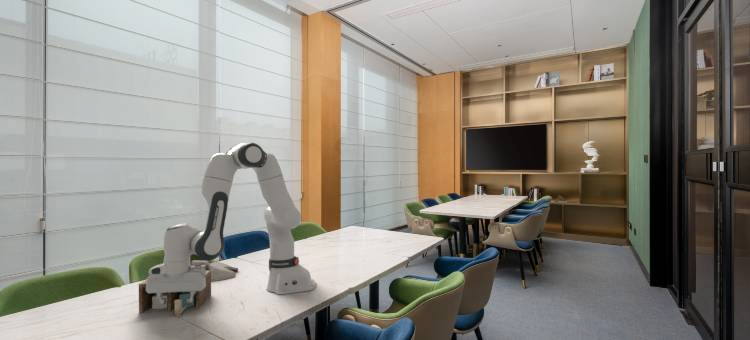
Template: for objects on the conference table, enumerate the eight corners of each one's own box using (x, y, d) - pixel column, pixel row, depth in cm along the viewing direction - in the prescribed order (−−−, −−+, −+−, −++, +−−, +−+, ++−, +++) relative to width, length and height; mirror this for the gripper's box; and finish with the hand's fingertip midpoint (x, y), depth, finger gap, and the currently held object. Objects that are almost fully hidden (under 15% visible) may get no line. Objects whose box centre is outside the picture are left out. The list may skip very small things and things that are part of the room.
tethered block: (198, 300, 140) (198, 287, 140) (184, 315, 126) (184, 300, 126) (184, 301, 139) (184, 288, 140) (169, 316, 125) (169, 301, 125)
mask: (180, 256, 179) (240, 253, 186) (180, 273, 179) (240, 269, 186) (167, 266, 160) (234, 263, 167) (167, 285, 160) (233, 280, 167)
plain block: (173, 302, 139) (173, 290, 139) (167, 308, 133) (167, 295, 133) (159, 303, 138) (158, 291, 138) (152, 309, 133) (152, 296, 133)
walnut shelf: (211, 295, 146) (210, 270, 146) (199, 308, 132) (199, 280, 132) (156, 299, 143) (156, 273, 143) (138, 312, 129) (138, 284, 129)
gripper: (208, 263, 131) (208, 298, 131) (152, 265, 128) (152, 301, 128) (202, 268, 125) (202, 304, 125) (143, 270, 122) (143, 307, 122)
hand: (176, 303), depth 127 cm, fingers open, 8 cm apart
